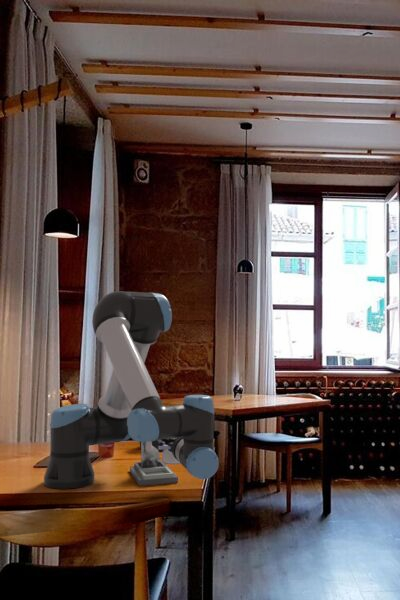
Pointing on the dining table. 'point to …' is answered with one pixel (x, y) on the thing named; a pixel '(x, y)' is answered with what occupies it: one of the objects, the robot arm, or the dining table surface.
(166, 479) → the pocket board
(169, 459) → the can
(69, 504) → the dining table surface
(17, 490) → the dining table surface
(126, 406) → the robot arm
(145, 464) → the seated cylinder
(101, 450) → the paper cup
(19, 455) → the dining table surface
